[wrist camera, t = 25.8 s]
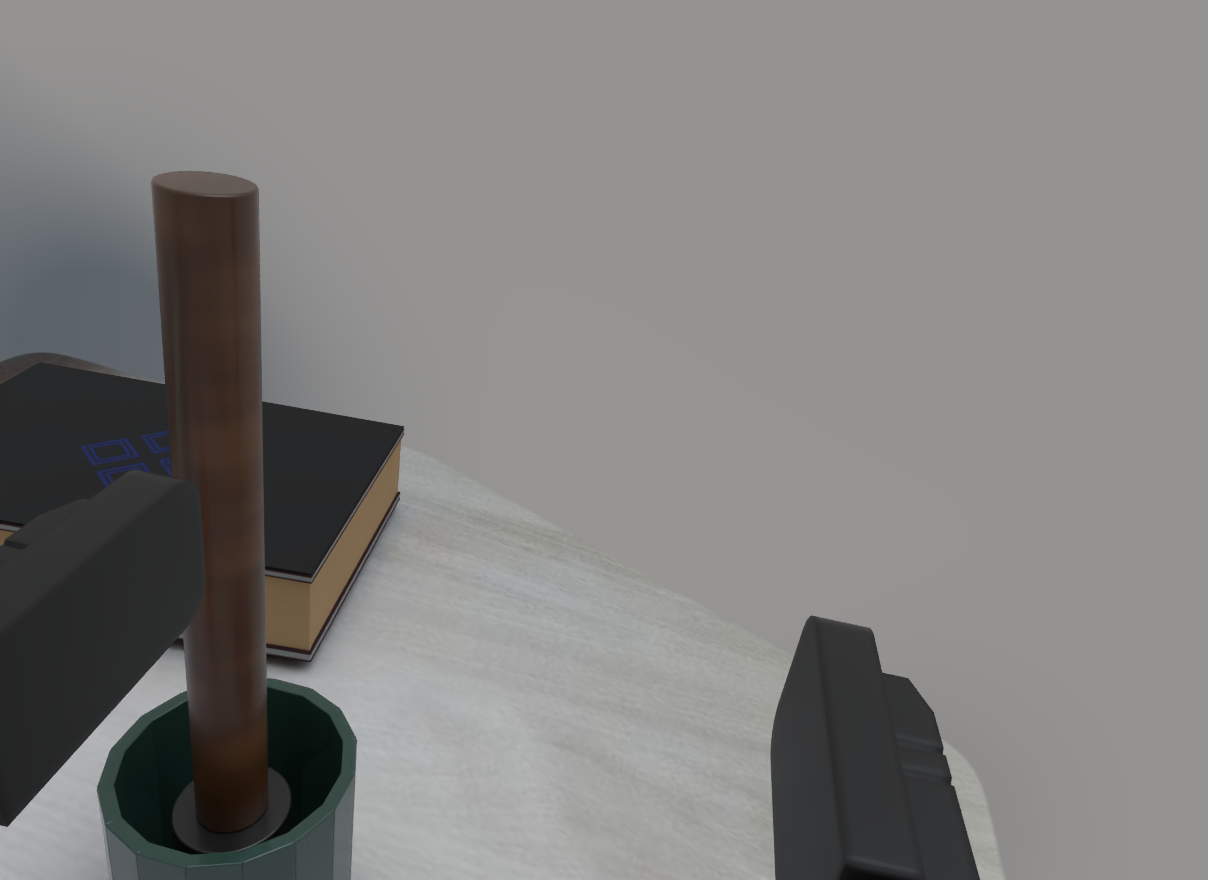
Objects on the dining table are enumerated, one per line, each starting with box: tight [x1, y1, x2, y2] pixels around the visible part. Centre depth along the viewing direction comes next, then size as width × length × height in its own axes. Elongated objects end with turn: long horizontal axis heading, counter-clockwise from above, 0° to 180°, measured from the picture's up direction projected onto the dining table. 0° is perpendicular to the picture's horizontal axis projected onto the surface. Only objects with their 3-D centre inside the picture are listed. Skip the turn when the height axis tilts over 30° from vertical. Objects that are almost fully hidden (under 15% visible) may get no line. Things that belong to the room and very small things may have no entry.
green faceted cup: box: [97, 678, 357, 880], centre depth 32 cm, size 8×8×9 cm
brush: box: [151, 171, 292, 854], centre depth 28 cm, size 4×4×28 cm
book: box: [0, 363, 404, 662], centre depth 53 cm, size 17×25×7 cm
